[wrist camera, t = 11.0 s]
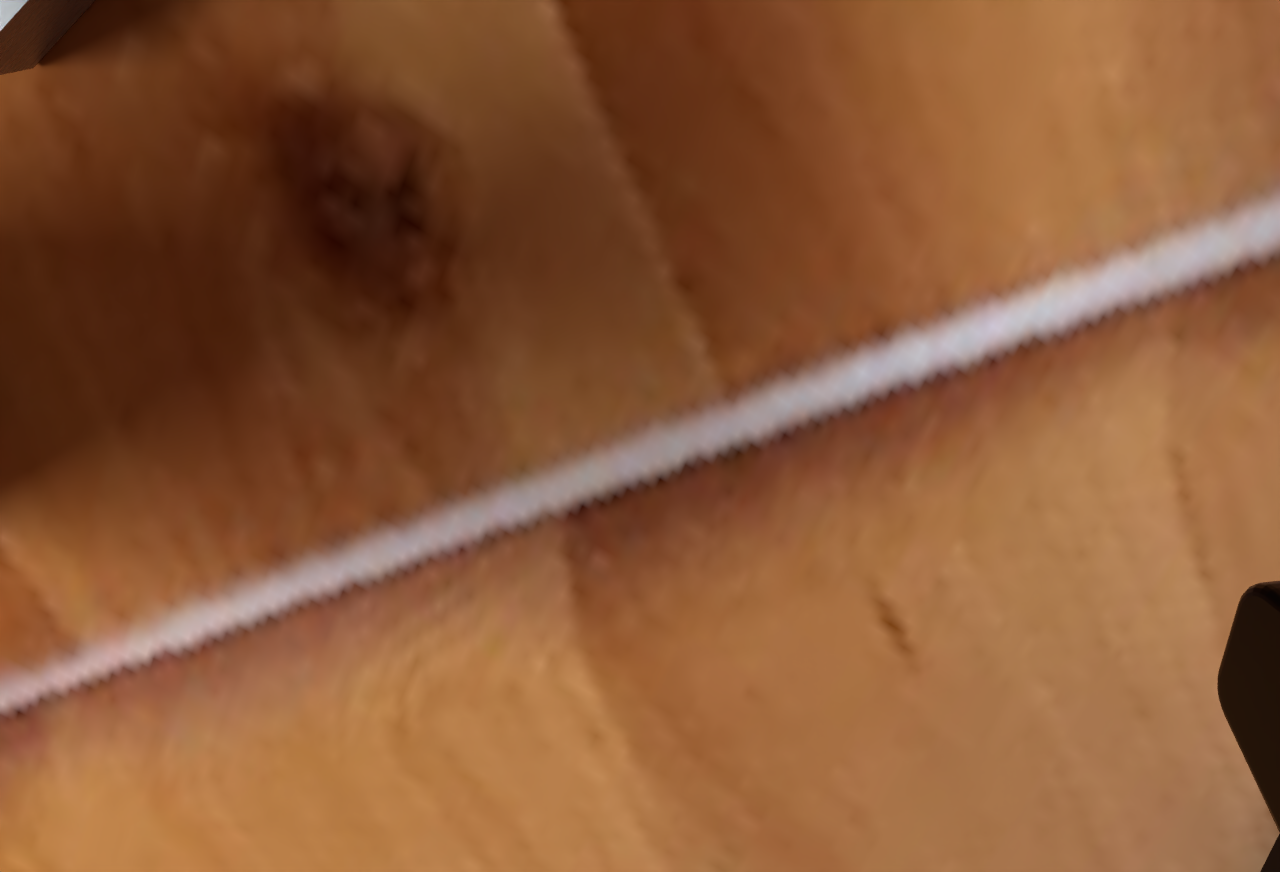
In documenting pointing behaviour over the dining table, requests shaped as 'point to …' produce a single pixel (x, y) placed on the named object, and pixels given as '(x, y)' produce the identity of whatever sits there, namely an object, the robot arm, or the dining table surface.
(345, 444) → the dining table surface
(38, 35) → the plate
